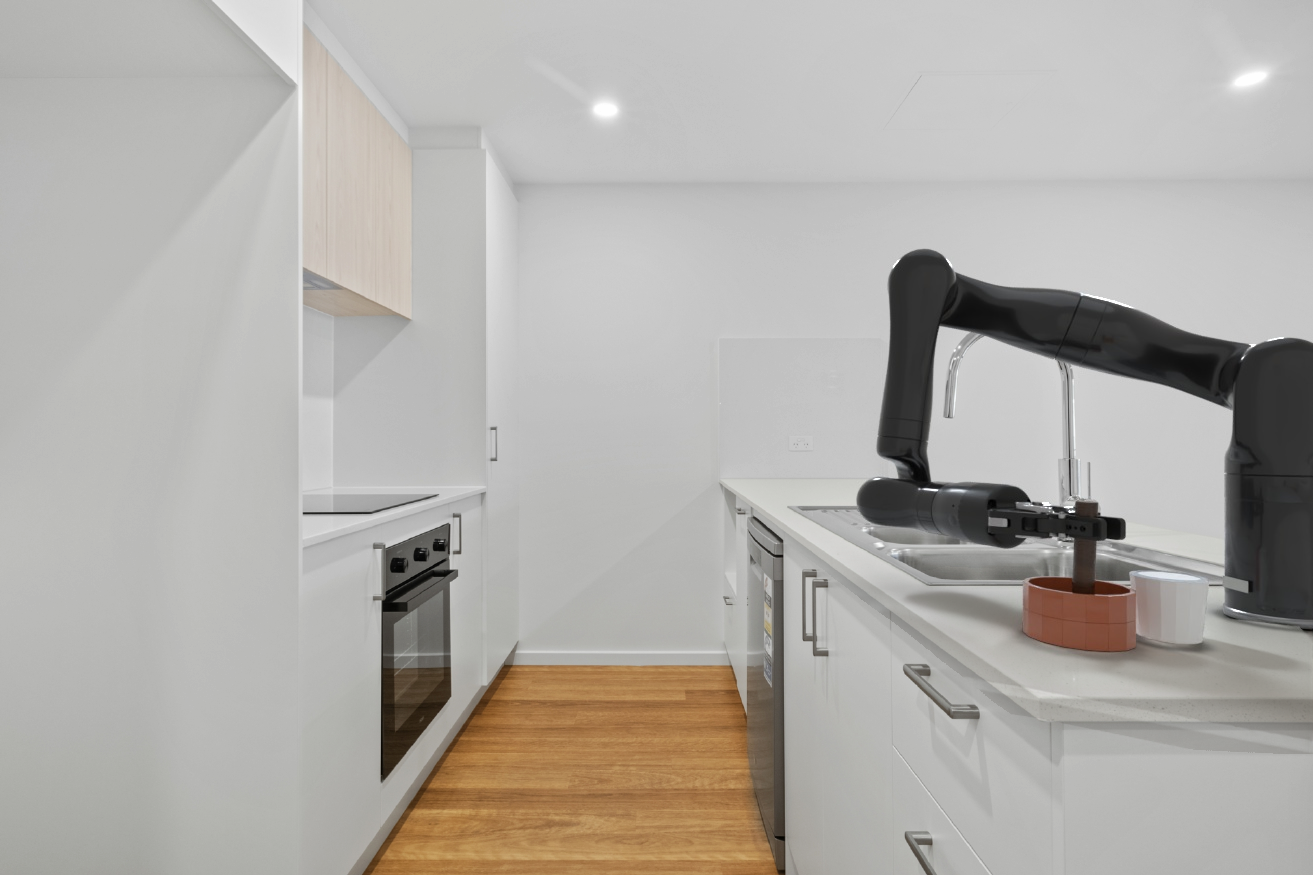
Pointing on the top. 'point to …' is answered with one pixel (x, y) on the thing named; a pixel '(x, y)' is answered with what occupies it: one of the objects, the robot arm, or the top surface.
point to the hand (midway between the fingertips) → (1113, 529)
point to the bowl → (1079, 614)
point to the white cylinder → (1170, 605)
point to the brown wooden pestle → (1084, 553)
